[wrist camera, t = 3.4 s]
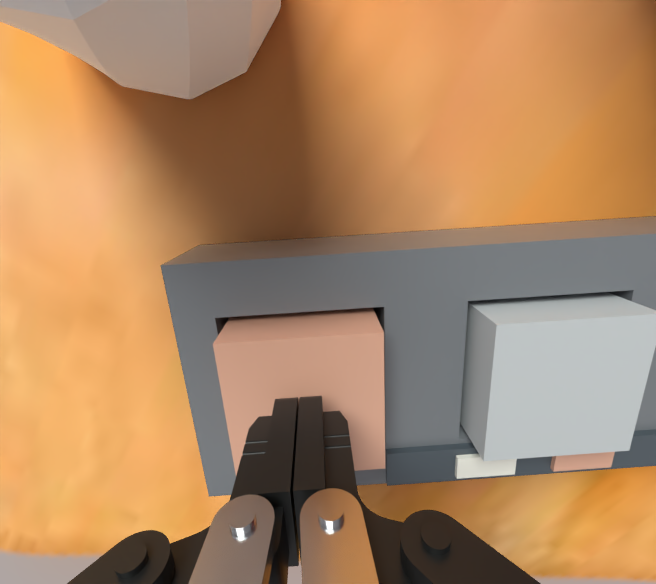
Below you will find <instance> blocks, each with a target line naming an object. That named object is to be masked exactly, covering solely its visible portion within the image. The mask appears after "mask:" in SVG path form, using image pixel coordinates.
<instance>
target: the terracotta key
mask: <svg viewBox="0 0 656 584" xmlns="http://www.w3.org/2000/svg"><path fill="white" fill-rule="evenodd" d="M213 348H214V354H215V360H216V365H217V371H218V377H219V383H220V388H221V394H222V400H223V405H224V411H225V417H226V422H227V428H228V434H229V439H230V445H231V451H232V457H233V462H234V468H235V474H236V475H237V471H238V468H239V464H240V460H241V456H242V453H243V449H244V445H245V441H246V438H247V434H248V430H249V428H250V427H251V425H252V424H253V423H254V422H255V420H256V419H257V418H258V417H260V416H272V412H273V407H274V401H275V399H281V398H295V397H298V399H299V398H300V397H308V396H322V402H323V412H328V411H340V412H341V413H342V415H343V416H344V417H345V418H346V420H347V421H348V428H349V436H350V442H351V449H352V456H353V463H354V470H355V471H358V470H372V469H385V388H384V331H383V329H382V327H381V325H380V323H379V320H378V318H377V316H376V314H375V312H374V310H373V307H372V308H357V309H342V310H327V311H312V312H297V313H282V314H267V315H252V316H237V317H230V318H229V319H228V321H227V323H226V324H225V326H224V327H223V329H222V330H221V332H220V333H219V335H218V337H217V338H216V340H215V341H214V343H213Z"/></svg>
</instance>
